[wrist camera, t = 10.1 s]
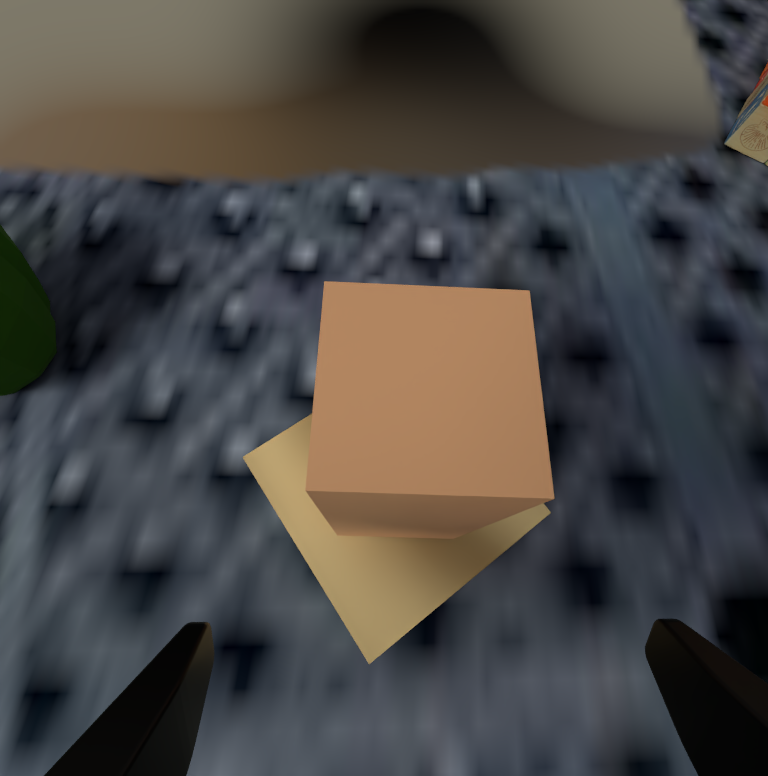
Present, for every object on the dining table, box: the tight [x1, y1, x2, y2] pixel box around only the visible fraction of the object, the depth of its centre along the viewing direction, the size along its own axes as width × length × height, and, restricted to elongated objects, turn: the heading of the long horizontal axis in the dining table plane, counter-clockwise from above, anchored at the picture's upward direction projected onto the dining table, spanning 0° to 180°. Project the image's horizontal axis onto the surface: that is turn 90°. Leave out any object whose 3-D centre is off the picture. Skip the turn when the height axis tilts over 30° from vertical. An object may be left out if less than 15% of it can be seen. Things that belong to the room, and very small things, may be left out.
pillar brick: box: [305, 281, 555, 539], centre depth 13 cm, size 4×4×10 cm
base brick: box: [243, 414, 551, 664], centre depth 20 cm, size 9×9×4 cm
